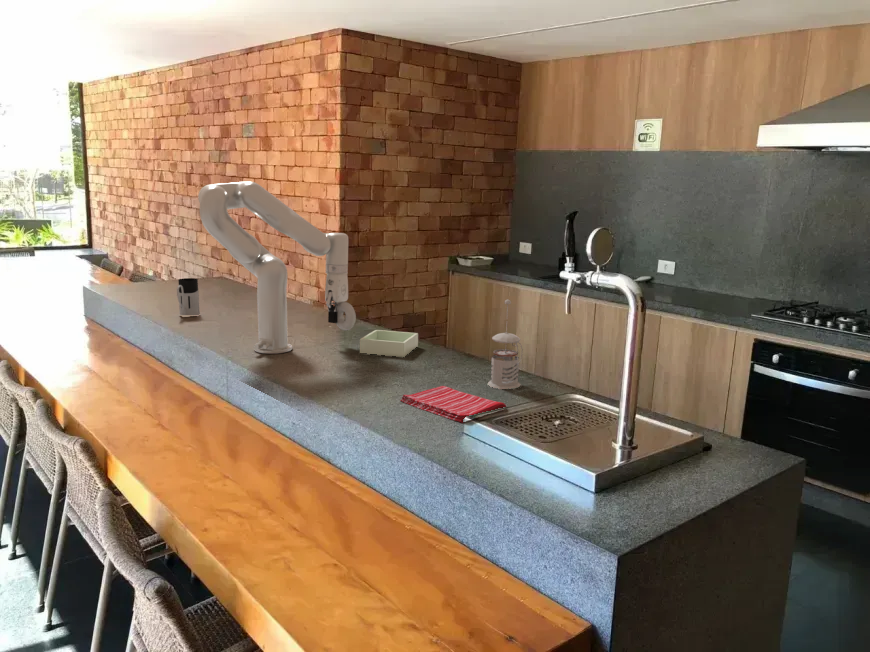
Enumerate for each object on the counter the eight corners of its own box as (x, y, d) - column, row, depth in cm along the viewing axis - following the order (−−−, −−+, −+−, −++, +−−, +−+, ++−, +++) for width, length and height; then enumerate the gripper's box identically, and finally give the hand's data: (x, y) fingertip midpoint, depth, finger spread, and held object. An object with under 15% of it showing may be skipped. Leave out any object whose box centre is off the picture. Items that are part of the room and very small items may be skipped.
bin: (404, 357, 233) (404, 342, 232) (359, 353, 237) (359, 339, 236) (417, 347, 248) (418, 333, 247) (375, 343, 252) (375, 329, 251)
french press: (480, 384, 205) (483, 298, 200) (506, 377, 213) (509, 294, 208) (506, 391, 198) (510, 303, 193) (532, 384, 206) (536, 299, 201)
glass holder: (204, 313, 298) (202, 278, 295) (189, 320, 285) (187, 283, 281) (184, 312, 299) (182, 277, 296) (168, 319, 285) (166, 282, 282)
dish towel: (463, 426, 171) (464, 416, 171) (398, 403, 188) (398, 393, 187) (508, 411, 183) (509, 401, 183) (443, 390, 200) (443, 381, 199)
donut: (331, 328, 247) (331, 300, 245) (338, 327, 249) (339, 299, 247) (349, 333, 240) (350, 304, 238) (357, 332, 243) (358, 303, 241)
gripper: (337, 272, 234) (335, 326, 238) (355, 267, 250) (354, 318, 253) (316, 270, 236) (315, 324, 239) (336, 266, 252) (335, 316, 255)
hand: (335, 321), depth 246 cm, fingers closed on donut, 3 cm apart
